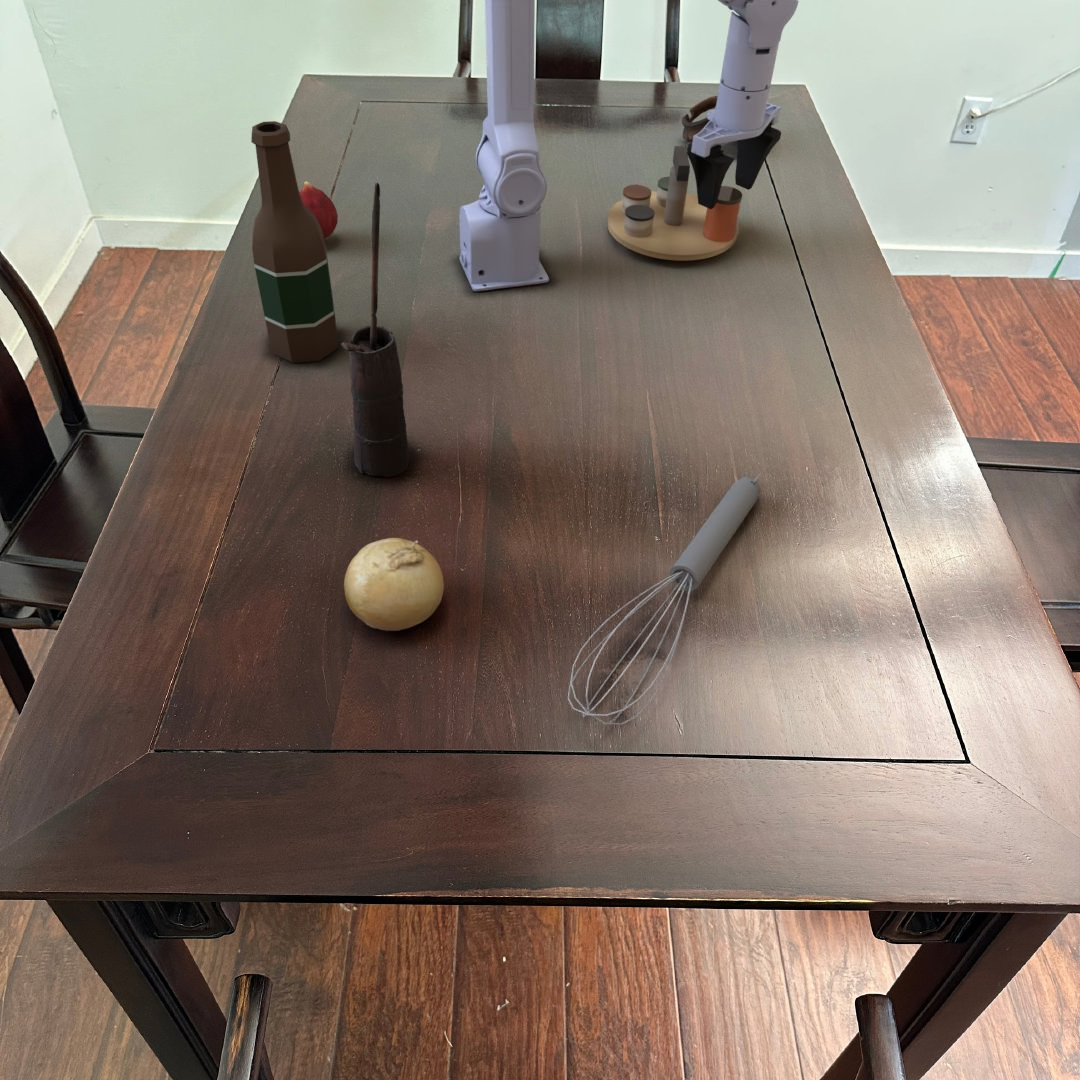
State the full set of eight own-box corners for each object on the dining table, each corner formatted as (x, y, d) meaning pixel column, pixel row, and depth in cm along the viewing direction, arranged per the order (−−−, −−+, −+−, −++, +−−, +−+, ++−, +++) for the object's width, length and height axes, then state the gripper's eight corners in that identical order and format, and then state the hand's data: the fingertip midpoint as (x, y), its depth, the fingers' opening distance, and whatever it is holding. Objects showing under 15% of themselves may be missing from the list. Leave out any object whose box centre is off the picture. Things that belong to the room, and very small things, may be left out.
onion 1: (345, 233, 124) (338, 173, 118) (334, 256, 120) (326, 194, 114) (301, 230, 124) (291, 169, 119) (288, 252, 120) (278, 191, 115)
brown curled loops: (739, 171, 141) (718, 120, 136) (686, 181, 148) (664, 133, 143) (771, 122, 146) (752, 72, 141) (718, 134, 153) (698, 86, 148)
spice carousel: (746, 263, 120) (761, 190, 113) (609, 258, 120) (616, 184, 113) (728, 198, 132) (741, 129, 125) (604, 194, 132) (610, 124, 125)
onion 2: (378, 660, 77) (369, 602, 72) (331, 598, 81) (320, 539, 76) (462, 616, 80) (460, 558, 75) (413, 558, 85) (408, 500, 80)
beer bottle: (326, 369, 104) (293, 149, 86) (258, 359, 104) (211, 138, 87) (350, 330, 109) (323, 114, 92) (285, 320, 110) (246, 105, 93)
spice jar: (737, 242, 122) (745, 201, 118) (705, 242, 122) (712, 201, 118) (731, 226, 125) (738, 185, 121) (699, 226, 124) (706, 185, 121)
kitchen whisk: (783, 496, 92) (798, 445, 87) (621, 761, 71) (628, 712, 67) (724, 473, 94) (735, 422, 89) (549, 724, 74) (552, 675, 69)
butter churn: (338, 510, 89) (292, 228, 69) (315, 446, 95) (266, 170, 75) (434, 487, 91) (416, 208, 71) (405, 426, 97) (382, 154, 77)
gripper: (754, 57, 115) (734, 167, 125) (677, 87, 108) (662, 202, 118) (803, 74, 112) (779, 186, 122) (728, 107, 105) (708, 223, 114)
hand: (725, 195), depth 120 cm, fingers open, 7 cm apart
